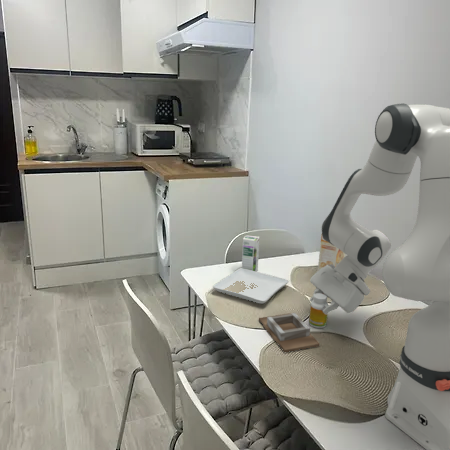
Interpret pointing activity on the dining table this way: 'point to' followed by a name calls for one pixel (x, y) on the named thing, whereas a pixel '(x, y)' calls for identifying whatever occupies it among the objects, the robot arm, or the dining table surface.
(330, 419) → the dining table surface
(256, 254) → the syrup box
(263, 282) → the salad plate
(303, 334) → the socket board
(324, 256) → the coffeecake box
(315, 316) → the supplement bottle
